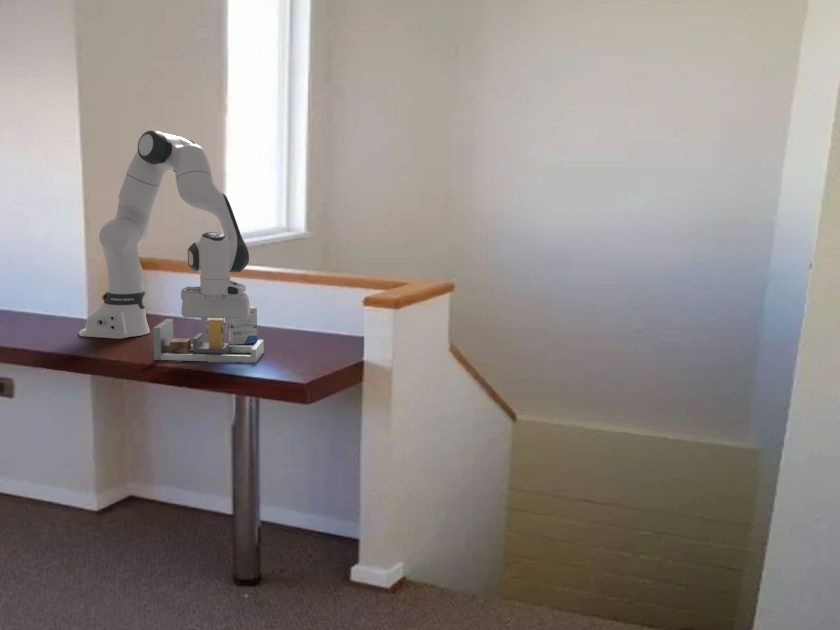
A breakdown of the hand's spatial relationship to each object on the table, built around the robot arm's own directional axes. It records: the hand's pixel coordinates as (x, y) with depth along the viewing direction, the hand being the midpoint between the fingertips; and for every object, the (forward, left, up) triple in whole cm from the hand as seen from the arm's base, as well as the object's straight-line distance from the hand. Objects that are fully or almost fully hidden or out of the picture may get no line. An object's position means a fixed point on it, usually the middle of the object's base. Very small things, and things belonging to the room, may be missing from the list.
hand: (216, 332), depth 270 cm
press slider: (-1, 0, -8) cm, 8 cm away
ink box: (+4, +20, -8) cm, 22 cm away
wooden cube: (-11, 0, -8) cm, 13 cm away
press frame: (-2, 0, -8) cm, 8 cm away
